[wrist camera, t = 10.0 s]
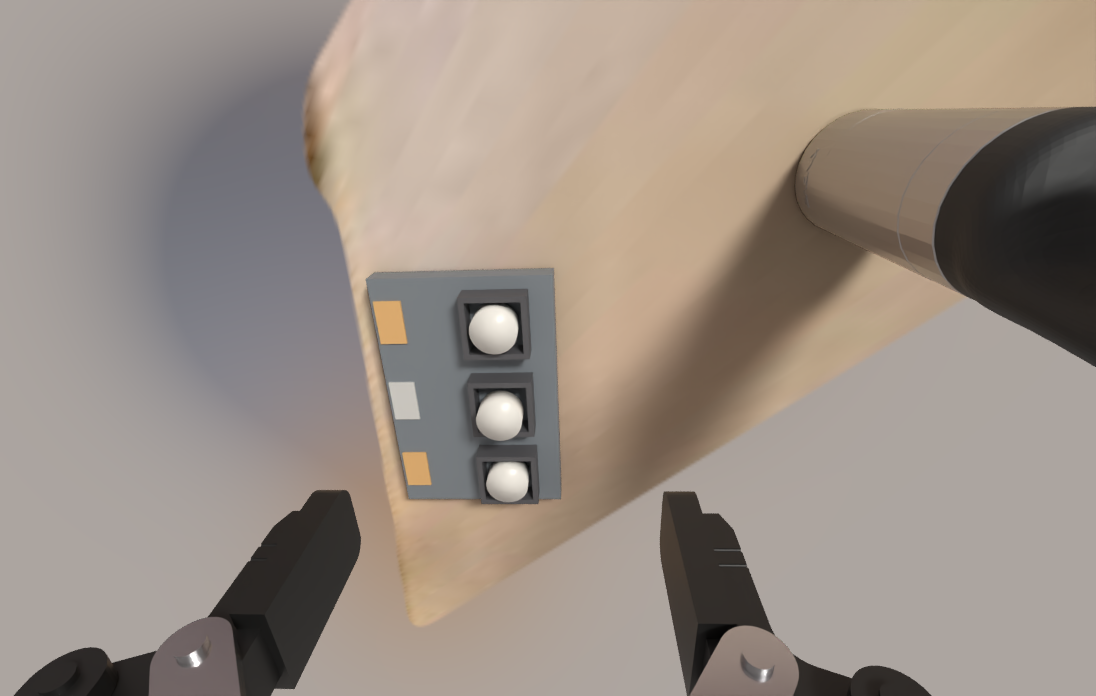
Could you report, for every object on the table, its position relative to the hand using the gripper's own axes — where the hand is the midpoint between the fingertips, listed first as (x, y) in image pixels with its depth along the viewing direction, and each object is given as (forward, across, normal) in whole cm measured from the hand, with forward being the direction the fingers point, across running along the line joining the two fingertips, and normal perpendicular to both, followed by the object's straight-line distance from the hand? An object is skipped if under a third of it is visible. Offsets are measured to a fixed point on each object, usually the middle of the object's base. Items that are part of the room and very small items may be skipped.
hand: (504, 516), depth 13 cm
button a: (+30, +5, +7) cm, 32 cm away
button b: (+29, +5, +15) cm, 33 cm away
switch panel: (+33, +8, +15) cm, 37 cm away
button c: (+30, +5, +23) cm, 38 cm away
